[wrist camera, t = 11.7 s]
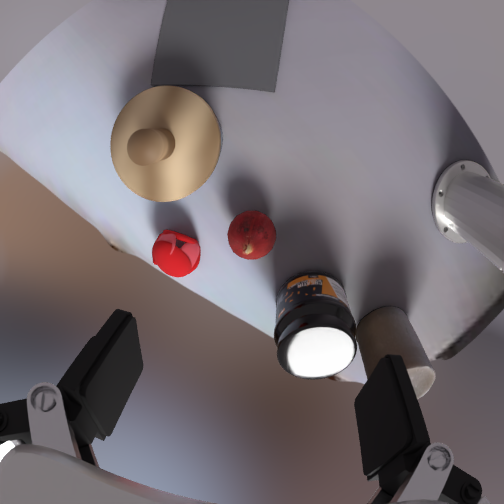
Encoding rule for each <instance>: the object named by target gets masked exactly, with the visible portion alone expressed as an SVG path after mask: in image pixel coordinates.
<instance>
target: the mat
mask: <svg viewBox="0 0 504 504" xmlns="http://www.w3.org/2000/svg"><path fill="white" fill-rule="evenodd" d="M288 3H289V0H168V1H167V5H166V9H165V13H164V17H163V21H162V26H161V30H160V35H159V40H158V45H157V50H156V56H155V62H154V68H153V74H152V81H151V85H197V86H218V87H232V88H243V89H252V90H260V91H268V92H275V88H276V81H277V75H278V68H279V62H280V55H281V49H282V42H283V36H284V29H285V23H286V16H287V10H288Z"/></svg>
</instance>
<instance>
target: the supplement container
mask: <svg viewBox="0 0 504 504" xmlns="http://www.w3.org/2000/svg"><path fill="white" fill-rule="evenodd" d="M355 334H356V324H355V320H354V318H353V316H352V314H351V311H350V307H349V304H348V301H347V297H346V293H345V290H344V288H343V286H342V285H341V283H340V282H339V281H338V280H337V279H336V278H334V277H333V276H331V275H329V274H327V273H324V272H319V271H308V272H303V273H300V274H297V275H295V276H293V277H292V278H290V279H289V280H288V281H286V282H285V283H284V285H283V286H282V287H281V289H280V291H279V293H278V295H277V299H276V325H275V329H274V340H275V343H276V346H277V358H278V361H279V363H280V365H281V367H282V368H283V369H284V370H285V371H286V372H288V373H290V374H291V375H293V376H296V377H299V378H303V379H322V378H327V377H330V376H333V375H335V374H337V373H339V372H341V371H342V370H344V369H345V368H346V367H347V366H348V365H349V364H350V363H351V362H352V361H353V359H354V357H355V355H356V351H357V343H356V339H355Z"/></svg>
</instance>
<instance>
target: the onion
mask: <svg viewBox="0 0 504 504" xmlns="http://www.w3.org/2000/svg"><path fill="white" fill-rule="evenodd" d="M275 240H276V230H275V228H274V225H273V223H272V221H271V220H270V219H269V218H268V217H267V216H266V215H265V214H263V213H261V212H259V211H245V212H243V213H241V214H239V215H237V216H236V217H235V218H234V220H233V221H232V222H231V224H230V226H229V230H228V241H229V245H230V247H231V249H232V250H233V252H234V253H235V254H237V255H238V256H239V257H242V258H245V259H258V258H261V257H263V256H265V255H266V254H267V253H268V252H270V251H271V250H272V248H273V245H274V243H275Z"/></svg>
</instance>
